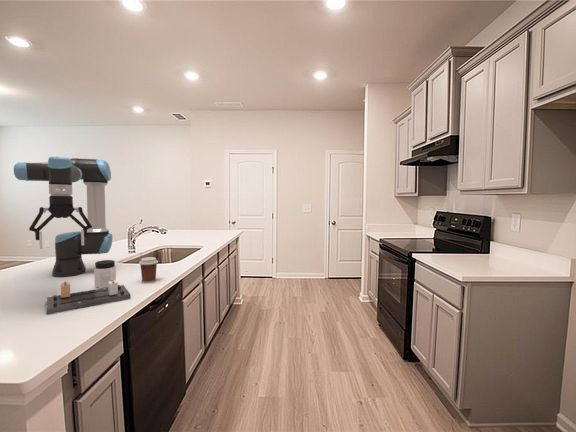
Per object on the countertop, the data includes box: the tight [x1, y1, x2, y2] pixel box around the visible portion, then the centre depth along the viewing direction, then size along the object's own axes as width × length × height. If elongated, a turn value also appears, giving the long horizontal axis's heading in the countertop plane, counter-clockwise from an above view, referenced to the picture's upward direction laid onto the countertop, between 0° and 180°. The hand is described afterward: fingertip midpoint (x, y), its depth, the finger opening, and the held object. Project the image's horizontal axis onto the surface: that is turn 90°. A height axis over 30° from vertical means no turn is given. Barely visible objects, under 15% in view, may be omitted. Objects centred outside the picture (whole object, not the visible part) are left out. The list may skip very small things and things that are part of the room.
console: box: [46, 284, 131, 315], centre depth 122 cm, size 16×28×3 cm, turn 129°
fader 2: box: [107, 279, 119, 295], centre depth 124 cm, size 4×3×6 cm
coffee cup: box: [138, 256, 159, 284], centre depth 150 cm, size 9×9×12 cm
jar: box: [93, 259, 117, 289], centre depth 141 cm, size 9×8×12 cm
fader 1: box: [60, 281, 71, 298], centre depth 120 cm, size 4×3×6 cm
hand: (62, 246), depth 118 cm, fingers open, 13 cm apart
